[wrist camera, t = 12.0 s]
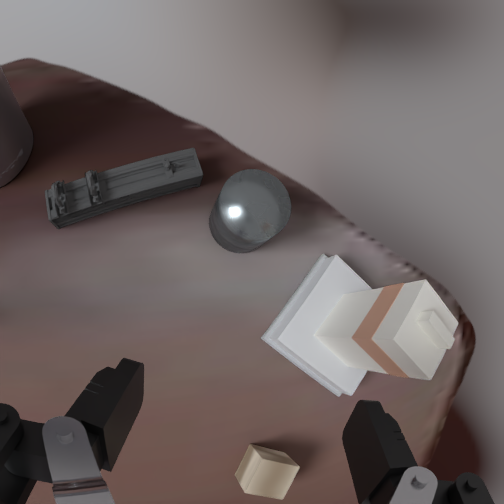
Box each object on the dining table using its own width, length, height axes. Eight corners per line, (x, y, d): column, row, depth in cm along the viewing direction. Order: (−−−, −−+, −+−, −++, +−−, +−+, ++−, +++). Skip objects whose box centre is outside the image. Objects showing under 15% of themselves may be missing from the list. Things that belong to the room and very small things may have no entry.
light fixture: (199, 189, 31) (208, 165, 26) (58, 230, 26) (40, 212, 21) (190, 161, 32) (197, 134, 26) (53, 200, 27) (36, 178, 21)
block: (234, 474, 26) (244, 492, 22) (249, 443, 27) (262, 458, 23) (268, 482, 26) (282, 499, 23) (284, 452, 28) (300, 466, 24)
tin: (196, 224, 30) (204, 203, 24) (235, 183, 32) (251, 156, 26) (243, 266, 30) (263, 253, 25) (279, 222, 32) (303, 202, 27)
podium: (260, 338, 29) (271, 340, 27) (321, 254, 33) (335, 248, 30) (336, 395, 30) (351, 401, 27) (385, 315, 34) (402, 314, 31)
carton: (313, 335, 28) (405, 339, 16) (343, 293, 29) (438, 275, 18) (347, 367, 28) (443, 382, 17) (375, 326, 30) (470, 321, 18)
